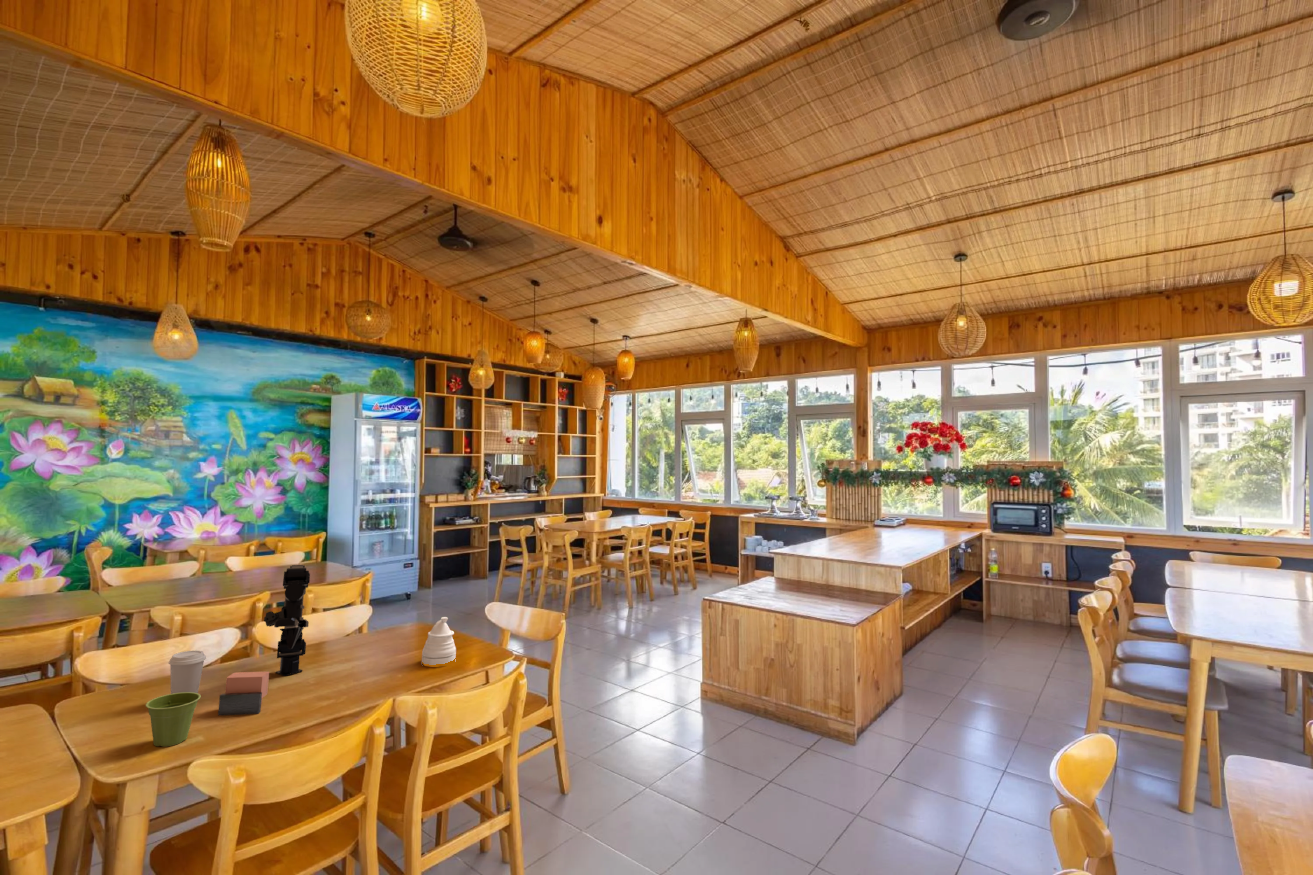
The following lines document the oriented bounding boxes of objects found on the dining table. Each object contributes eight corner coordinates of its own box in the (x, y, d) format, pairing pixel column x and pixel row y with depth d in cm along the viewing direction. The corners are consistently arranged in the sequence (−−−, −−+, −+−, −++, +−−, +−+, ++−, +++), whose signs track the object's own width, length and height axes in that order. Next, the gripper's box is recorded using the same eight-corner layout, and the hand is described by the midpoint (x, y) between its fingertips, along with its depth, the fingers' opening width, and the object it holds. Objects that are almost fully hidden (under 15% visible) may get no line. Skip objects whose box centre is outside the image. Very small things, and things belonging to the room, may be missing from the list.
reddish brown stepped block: (231, 705, 189) (234, 672, 190) (266, 703, 191) (269, 671, 192) (223, 711, 184) (226, 677, 185) (259, 709, 186) (262, 676, 187)
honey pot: (462, 661, 242) (464, 616, 243) (435, 669, 231) (438, 622, 232) (441, 655, 249) (444, 611, 250) (414, 663, 238) (417, 617, 239)
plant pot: (131, 746, 160) (135, 703, 161) (180, 729, 171) (183, 689, 172) (159, 755, 156) (163, 710, 157) (207, 737, 167) (210, 696, 168)
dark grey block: (240, 698, 196) (241, 679, 196) (277, 696, 198) (278, 678, 198) (218, 715, 182) (219, 695, 182) (258, 713, 184) (259, 693, 184)
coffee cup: (160, 709, 185) (165, 659, 186) (169, 698, 193) (173, 651, 194) (199, 704, 189) (203, 656, 190) (205, 694, 198) (209, 648, 199)
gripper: (276, 606, 220) (272, 651, 216) (259, 603, 203) (254, 651, 199) (310, 603, 224) (307, 647, 219) (296, 600, 207) (292, 647, 202)
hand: (290, 648), depth 209 cm, fingers closed
